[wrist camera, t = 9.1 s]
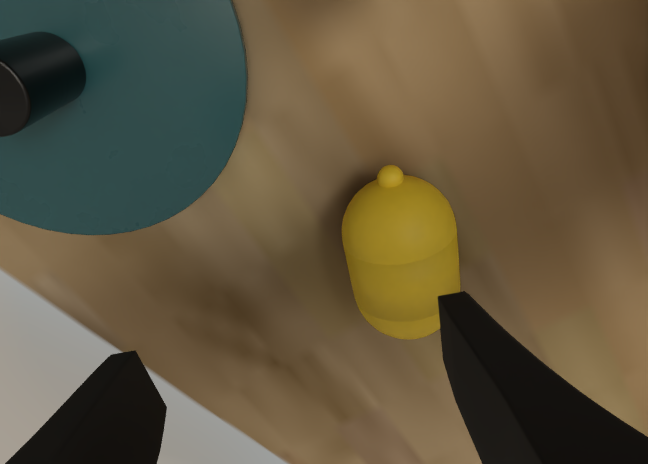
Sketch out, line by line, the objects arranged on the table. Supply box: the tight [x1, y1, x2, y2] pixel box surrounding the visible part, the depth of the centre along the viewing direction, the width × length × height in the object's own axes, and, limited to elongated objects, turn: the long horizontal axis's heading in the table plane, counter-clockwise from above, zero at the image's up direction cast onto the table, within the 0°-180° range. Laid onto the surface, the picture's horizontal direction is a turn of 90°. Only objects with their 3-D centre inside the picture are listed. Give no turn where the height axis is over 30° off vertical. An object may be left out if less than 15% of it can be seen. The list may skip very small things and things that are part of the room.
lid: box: [0, 0, 248, 235], centre depth 15 cm, size 14×14×5 cm
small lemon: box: [342, 165, 460, 339], centre depth 19 cm, size 5×9×5 cm, turn 12°
